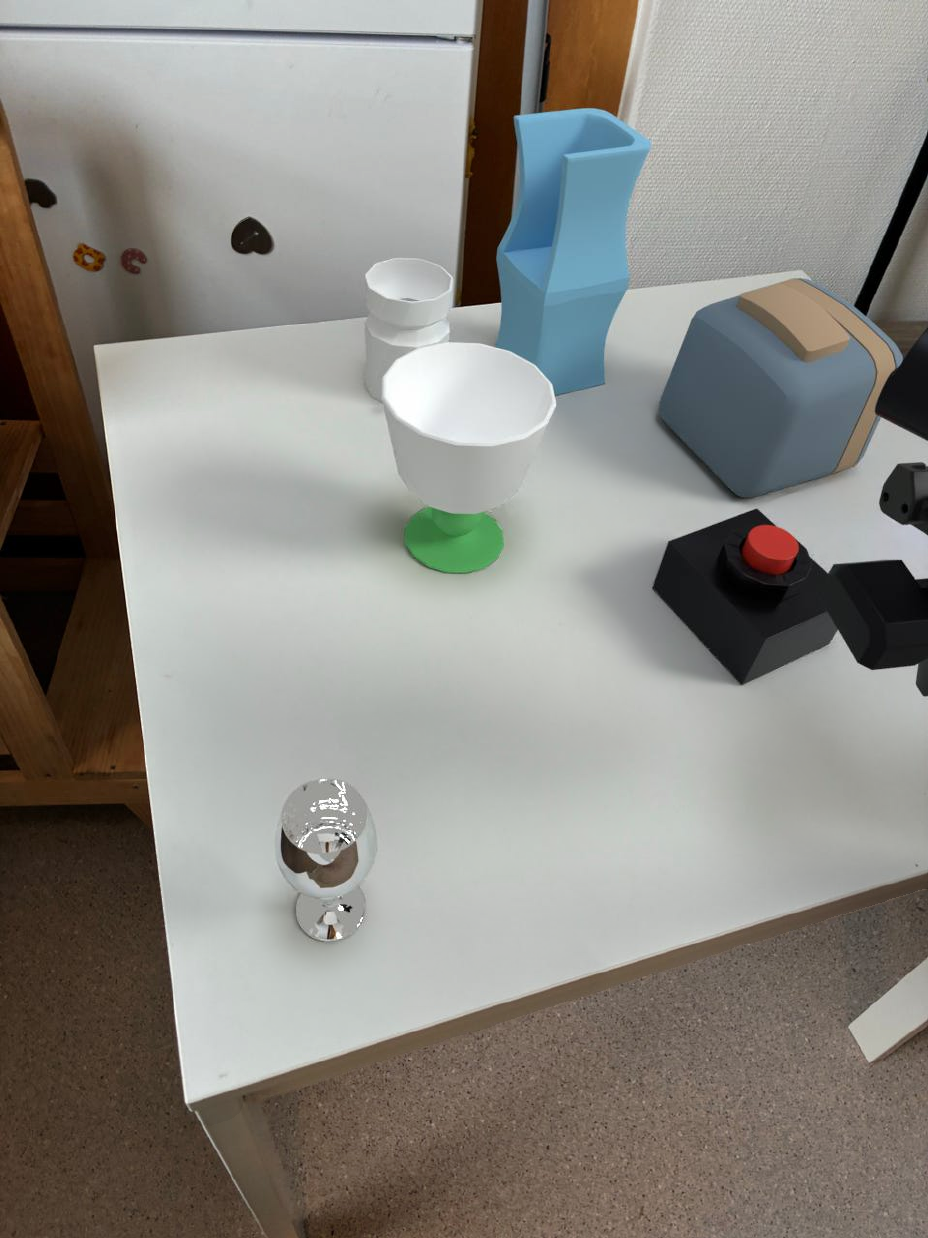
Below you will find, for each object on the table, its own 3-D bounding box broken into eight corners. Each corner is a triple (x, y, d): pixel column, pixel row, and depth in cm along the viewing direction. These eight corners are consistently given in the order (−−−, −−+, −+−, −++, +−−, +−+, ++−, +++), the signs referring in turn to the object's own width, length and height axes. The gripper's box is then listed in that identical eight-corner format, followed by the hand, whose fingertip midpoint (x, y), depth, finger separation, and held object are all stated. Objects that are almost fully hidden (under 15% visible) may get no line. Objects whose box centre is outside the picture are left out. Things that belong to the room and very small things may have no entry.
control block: (829, 644, 77) (866, 583, 71) (741, 685, 73) (772, 625, 67) (737, 554, 83) (763, 491, 78) (651, 587, 79) (673, 525, 74)
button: (801, 565, 72) (809, 550, 71) (764, 581, 71) (772, 565, 70) (767, 534, 75) (774, 519, 73) (731, 549, 73) (737, 533, 72)
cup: (365, 496, 84) (365, 346, 72) (505, 481, 87) (527, 335, 76) (395, 603, 76) (400, 453, 64) (548, 582, 79) (581, 435, 67)
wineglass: (302, 967, 55) (289, 880, 46) (273, 885, 59) (257, 790, 50) (389, 930, 57) (393, 841, 48) (357, 853, 61) (355, 756, 52)
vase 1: (386, 416, 93) (388, 310, 84) (351, 371, 97) (349, 266, 88) (460, 397, 96) (470, 292, 87) (422, 354, 101) (428, 251, 92)
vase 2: (485, 353, 102) (512, 115, 83) (559, 337, 105) (601, 105, 87) (528, 402, 96) (567, 158, 78) (605, 383, 100) (660, 146, 81)
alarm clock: (864, 472, 93) (937, 334, 81) (739, 511, 87) (797, 369, 75) (764, 385, 102) (817, 250, 90) (646, 415, 97) (685, 274, 85)
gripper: (1121, 401, 52) (983, 586, 64) (829, 416, 49) (739, 608, 60) (1266, 533, 45) (1080, 714, 57) (936, 561, 42) (811, 747, 53)
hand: (924, 690), depth 57 cm, fingers closed
